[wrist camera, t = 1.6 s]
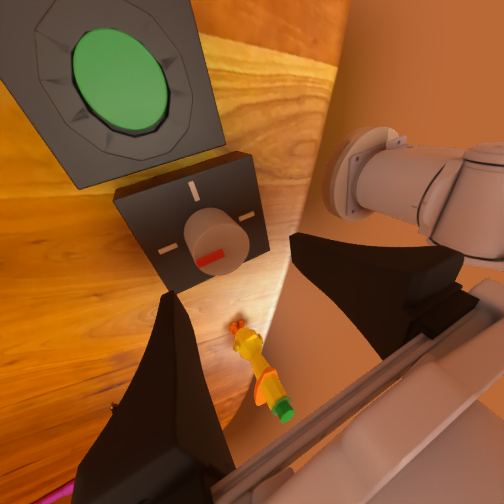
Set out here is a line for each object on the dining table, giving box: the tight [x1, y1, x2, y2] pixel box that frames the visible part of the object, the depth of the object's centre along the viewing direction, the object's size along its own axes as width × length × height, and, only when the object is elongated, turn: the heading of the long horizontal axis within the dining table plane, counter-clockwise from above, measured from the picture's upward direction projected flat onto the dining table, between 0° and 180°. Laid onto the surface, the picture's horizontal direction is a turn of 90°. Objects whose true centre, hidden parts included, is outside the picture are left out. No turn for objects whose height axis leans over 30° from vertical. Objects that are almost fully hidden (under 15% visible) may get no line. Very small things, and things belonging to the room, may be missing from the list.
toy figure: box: [230, 320, 295, 423], centre depth 24 cm, size 7×4×12 cm, turn 170°
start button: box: [73, 28, 167, 131], centre depth 10 cm, size 4×4×2 cm
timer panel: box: [113, 151, 270, 294], centre depth 18 cm, size 10×9×3 cm
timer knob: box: [184, 208, 249, 276], centre depth 16 cm, size 4×4×4 cm
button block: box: [0, 0, 226, 190], centre depth 12 cm, size 10×8×4 cm
